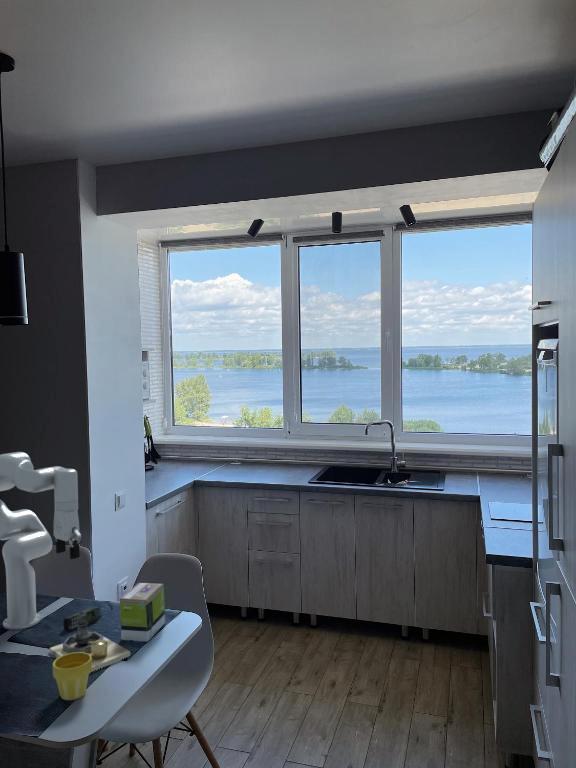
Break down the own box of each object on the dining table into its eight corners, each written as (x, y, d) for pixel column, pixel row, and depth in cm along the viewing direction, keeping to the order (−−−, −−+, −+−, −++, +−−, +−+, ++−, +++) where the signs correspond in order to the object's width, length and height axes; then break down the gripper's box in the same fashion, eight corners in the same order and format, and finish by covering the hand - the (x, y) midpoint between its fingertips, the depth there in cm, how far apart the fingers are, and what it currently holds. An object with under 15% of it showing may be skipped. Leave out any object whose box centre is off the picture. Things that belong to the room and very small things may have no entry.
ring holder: (57, 646, 194) (57, 640, 194) (90, 634, 203) (90, 628, 203) (75, 658, 186) (75, 651, 186) (108, 645, 195) (108, 639, 195)
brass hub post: (87, 656, 188) (87, 643, 188) (102, 650, 191) (102, 638, 191) (96, 661, 184) (95, 648, 184) (110, 655, 188) (110, 642, 188)
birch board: (49, 652, 194) (49, 648, 193) (94, 635, 205) (94, 631, 205) (83, 675, 179) (83, 670, 179) (130, 656, 190) (130, 651, 190)
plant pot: (64, 683, 174) (63, 650, 174) (98, 685, 173) (97, 651, 173) (46, 703, 164) (45, 668, 164) (82, 705, 163) (81, 670, 163)
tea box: (139, 621, 216) (139, 581, 216) (165, 623, 214) (165, 583, 214) (120, 640, 202) (119, 597, 201) (147, 642, 200) (146, 599, 199)
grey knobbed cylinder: (86, 650, 191) (85, 613, 191) (69, 649, 192) (68, 612, 192) (95, 642, 197) (94, 606, 197) (79, 640, 198) (78, 605, 198)
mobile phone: (66, 619, 208) (103, 604, 220) (61, 617, 210) (99, 602, 222) (66, 633, 209) (104, 617, 220) (62, 630, 211) (99, 615, 222)
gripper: (44, 503, 207) (45, 552, 207) (68, 511, 195) (69, 563, 195) (64, 500, 212) (66, 547, 213) (89, 507, 200) (90, 557, 201)
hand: (67, 555), depth 204 cm, fingers open, 9 cm apart
